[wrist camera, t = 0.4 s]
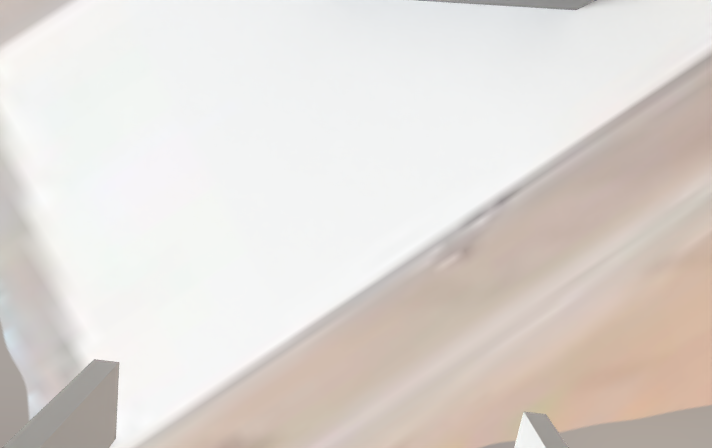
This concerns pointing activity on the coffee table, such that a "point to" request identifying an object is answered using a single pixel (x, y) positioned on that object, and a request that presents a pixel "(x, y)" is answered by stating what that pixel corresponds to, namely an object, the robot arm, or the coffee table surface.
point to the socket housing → (527, 3)
